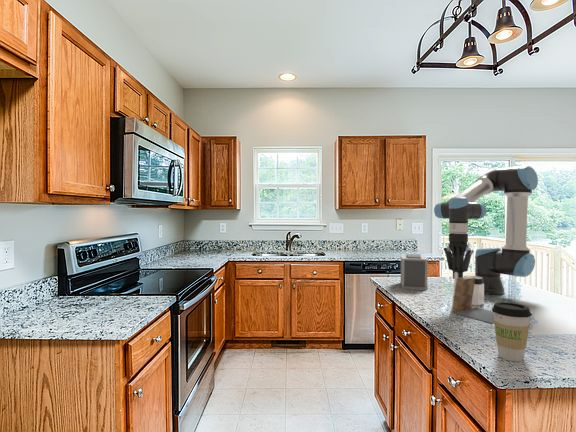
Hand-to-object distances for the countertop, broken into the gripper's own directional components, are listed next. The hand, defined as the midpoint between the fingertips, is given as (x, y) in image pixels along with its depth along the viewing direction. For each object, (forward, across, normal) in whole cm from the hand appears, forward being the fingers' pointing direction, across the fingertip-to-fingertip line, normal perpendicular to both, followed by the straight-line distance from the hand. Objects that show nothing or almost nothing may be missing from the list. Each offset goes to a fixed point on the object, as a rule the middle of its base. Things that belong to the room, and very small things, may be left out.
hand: (457, 287), depth 154 cm
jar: (+10, -3, +15) cm, 18 cm away
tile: (+9, +2, 0) cm, 9 cm away
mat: (+10, +12, 0) cm, 15 cm away
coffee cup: (+10, +40, -34) cm, 53 cm away
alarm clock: (+10, -42, +21) cm, 47 cm away
